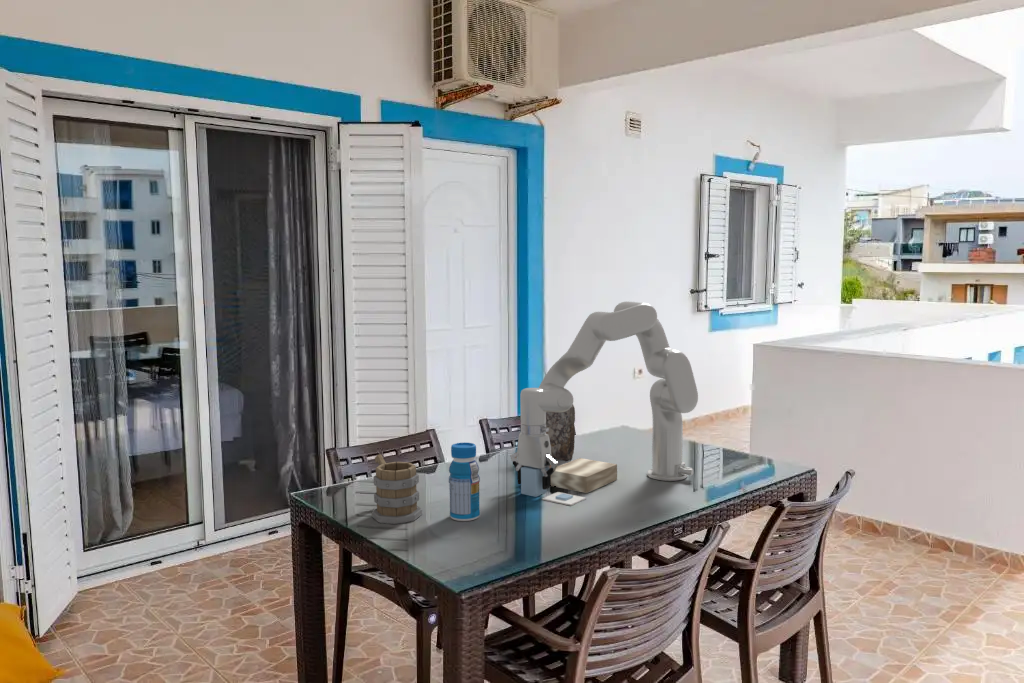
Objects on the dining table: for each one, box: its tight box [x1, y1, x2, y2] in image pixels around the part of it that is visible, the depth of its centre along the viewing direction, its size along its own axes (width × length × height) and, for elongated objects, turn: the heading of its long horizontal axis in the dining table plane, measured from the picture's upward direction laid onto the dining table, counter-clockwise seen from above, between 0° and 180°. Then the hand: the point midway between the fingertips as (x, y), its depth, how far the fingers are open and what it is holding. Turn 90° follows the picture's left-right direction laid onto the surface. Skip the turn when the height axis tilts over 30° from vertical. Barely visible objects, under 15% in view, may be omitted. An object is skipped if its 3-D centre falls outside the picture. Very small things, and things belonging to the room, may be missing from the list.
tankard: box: [371, 453, 423, 525], centre depth 208 cm, size 20×13×15 cm, turn 30°
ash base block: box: [550, 457, 618, 494], centre depth 236 cm, size 14×18×5 cm
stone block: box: [546, 404, 576, 462], centre depth 268 cm, size 13×7×20 cm, turn 49°
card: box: [541, 491, 587, 507], centre depth 219 cm, size 10×8×1 cm
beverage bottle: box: [448, 442, 481, 522], centre depth 203 cm, size 8×8×20 cm
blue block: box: [520, 466, 548, 498], centre depth 225 cm, size 6×6×8 cm
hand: (533, 485), depth 225 cm, fingers open, 8 cm apart
